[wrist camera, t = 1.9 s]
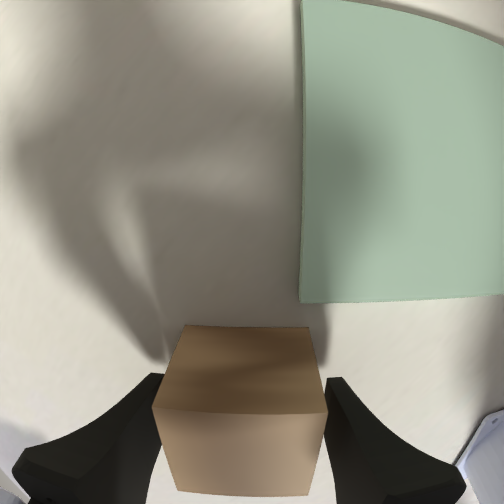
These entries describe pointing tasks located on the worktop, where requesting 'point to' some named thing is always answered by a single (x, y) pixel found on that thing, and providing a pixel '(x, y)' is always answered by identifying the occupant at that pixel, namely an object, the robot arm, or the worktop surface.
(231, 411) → the walnut block
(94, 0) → the worktop surface
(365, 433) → the robot arm
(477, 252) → the sage board
